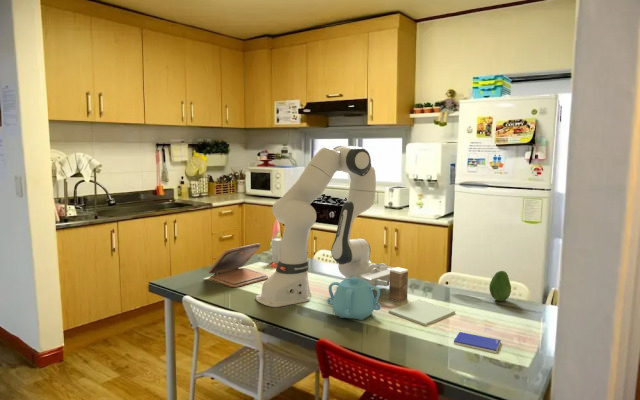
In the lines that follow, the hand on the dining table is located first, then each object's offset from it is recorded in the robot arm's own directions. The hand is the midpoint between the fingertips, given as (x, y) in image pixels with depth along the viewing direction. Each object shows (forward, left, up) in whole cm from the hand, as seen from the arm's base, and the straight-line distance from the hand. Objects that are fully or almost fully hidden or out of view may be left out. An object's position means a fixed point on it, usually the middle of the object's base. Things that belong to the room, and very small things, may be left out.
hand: (395, 281), depth 177 cm
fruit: (+29, -29, -7) cm, 41 cm away
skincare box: (-4, +73, -7) cm, 74 cm away
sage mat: (-5, -17, -7) cm, 19 cm away
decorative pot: (-25, -2, -7) cm, 26 cm away
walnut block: (0, -2, -7) cm, 7 cm away
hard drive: (-13, -43, -7) cm, 45 cm away
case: (-34, +62, -7) cm, 72 cm away
